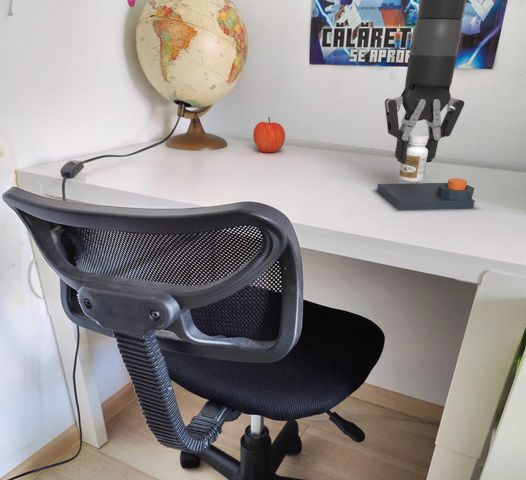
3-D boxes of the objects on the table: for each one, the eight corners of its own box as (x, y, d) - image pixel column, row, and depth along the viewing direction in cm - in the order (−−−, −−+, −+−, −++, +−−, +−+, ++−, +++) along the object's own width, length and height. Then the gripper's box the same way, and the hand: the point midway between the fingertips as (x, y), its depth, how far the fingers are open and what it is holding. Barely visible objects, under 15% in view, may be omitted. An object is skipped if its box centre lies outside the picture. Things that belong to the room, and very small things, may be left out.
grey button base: (446, 189, 99) (449, 174, 97) (476, 208, 89) (480, 191, 87) (376, 191, 97) (378, 175, 95) (398, 210, 87) (401, 193, 85)
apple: (253, 154, 122) (253, 119, 118) (253, 148, 129) (253, 114, 124) (285, 155, 122) (286, 120, 118) (283, 148, 129) (285, 115, 125)
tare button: (460, 186, 91) (462, 177, 90) (468, 191, 88) (470, 182, 88) (443, 186, 91) (445, 178, 90) (451, 191, 88) (453, 182, 87)
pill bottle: (393, 179, 92) (401, 134, 88) (407, 175, 95) (414, 131, 90) (414, 184, 89) (422, 138, 85) (427, 180, 92) (436, 135, 88)
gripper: (400, 53, 77) (383, 167, 86) (485, 54, 79) (460, 165, 88) (383, 50, 83) (369, 157, 92) (463, 52, 85) (441, 156, 94)
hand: (414, 161), depth 90 cm, fingers closed on pill bottle, 4 cm apart
